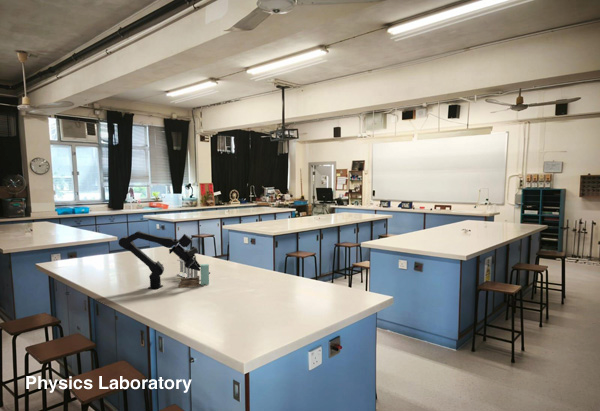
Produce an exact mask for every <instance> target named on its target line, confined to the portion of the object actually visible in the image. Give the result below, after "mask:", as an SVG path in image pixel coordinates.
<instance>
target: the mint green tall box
mask: <svg viewBox="0 0 600 411" xmlns="http://www.w3.org/2000/svg"><path fill="white" fill-rule="evenodd" d="M209 265H210V264H209V263H203V264H202V263H201V265H200V266H201V267H200V280H201V281H200V285H201V286H205V285H204V284H209V285H210V274H211V272H210V270H209V269H210V266H209Z"/></svg>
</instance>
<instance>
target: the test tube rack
mask: <svg viewBox="0 0 600 411" xmlns="http://www.w3.org/2000/svg"><path fill="white" fill-rule="evenodd" d="M176 261H177V262H179V273H177V274H176V276H178V277H180V276H179V274H180V272H183V271H184V273H186V274H187V277H186V278H195V277H197V276H199V275H198V272H199V271H197V270H194V269H190V268H186V267H185V263H184V261H183V260H182V259H180V258H179V259H176ZM201 264H202V263H201ZM201 264H200V263H199V265H200V266H201ZM199 281H200V282H201V278H199Z"/></svg>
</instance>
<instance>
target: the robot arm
mask: <svg viewBox="0 0 600 411" xmlns="http://www.w3.org/2000/svg"><path fill="white" fill-rule="evenodd" d="M138 239H139V240H144V241H148V242H152V243H156V244H158V245H161V246H162V247H164V248H168V249H169V250H168V253H169V254H172V253H174V254H175V256H177V257H178V258H179V259H182V260H183V261H184V262H183V263H185V267H186V268H190V270H191V269H193V271H194V270H197V271H198V272H201V265H199V264H200V263H199V261H198V260H197V256H196V254H198V253H200V251H199V249H198V247H197V246H191V248H190V250H188V249H185V248H188V247H189V245H191V243H192V242H193V239H192V238H191V236H188V235H186V234H185V233H184V234H183V235H182V236H181V237H180V238H179V239H175V238H173V237H171V236H170V237H169V236H158V235H155V234H150V233H147V232H143V231H141V230H137V231H136V232H134V233H132V234H130V235H125V236H122V237H121V238H120V239H119V240H118V246H119V247H121V248H123V249H124V250H126V251H129V252H131V254H133V255H134V256H135V257H136V258H137V259H139V260H140V261H141V262H142V263H144V265H146V266H147V267H148V268H149V270H150V272H151V273H150V274H149V277H148V278H149V286H148V287H147V289H149V290H150V289H151V290H158V289H160V288H162V287H164V285H162V284H161V283H162V280H161V275H163V274H164V271H165V267H164V264H162V263H161V262H160V261H159V260H157V261H154V260H152V258H150V257H149V256H148V255H147V254H146V253H145V252H143V251H142V249H140V248H139V247H138V246H136V244H135V243H134V241H136V240H138Z"/></svg>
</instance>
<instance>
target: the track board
mask: <svg viewBox="0 0 600 411" xmlns="http://www.w3.org/2000/svg"><path fill="white" fill-rule="evenodd" d="M180 278H181V279H180V281H179V284H178V288H179V289H181V287H182V288H192V287H193V286H196V287H200V283H201V281H199V279H200V275H198V276H197V277H195V278H183V277H180ZM193 288H194V287H193Z"/></svg>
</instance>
